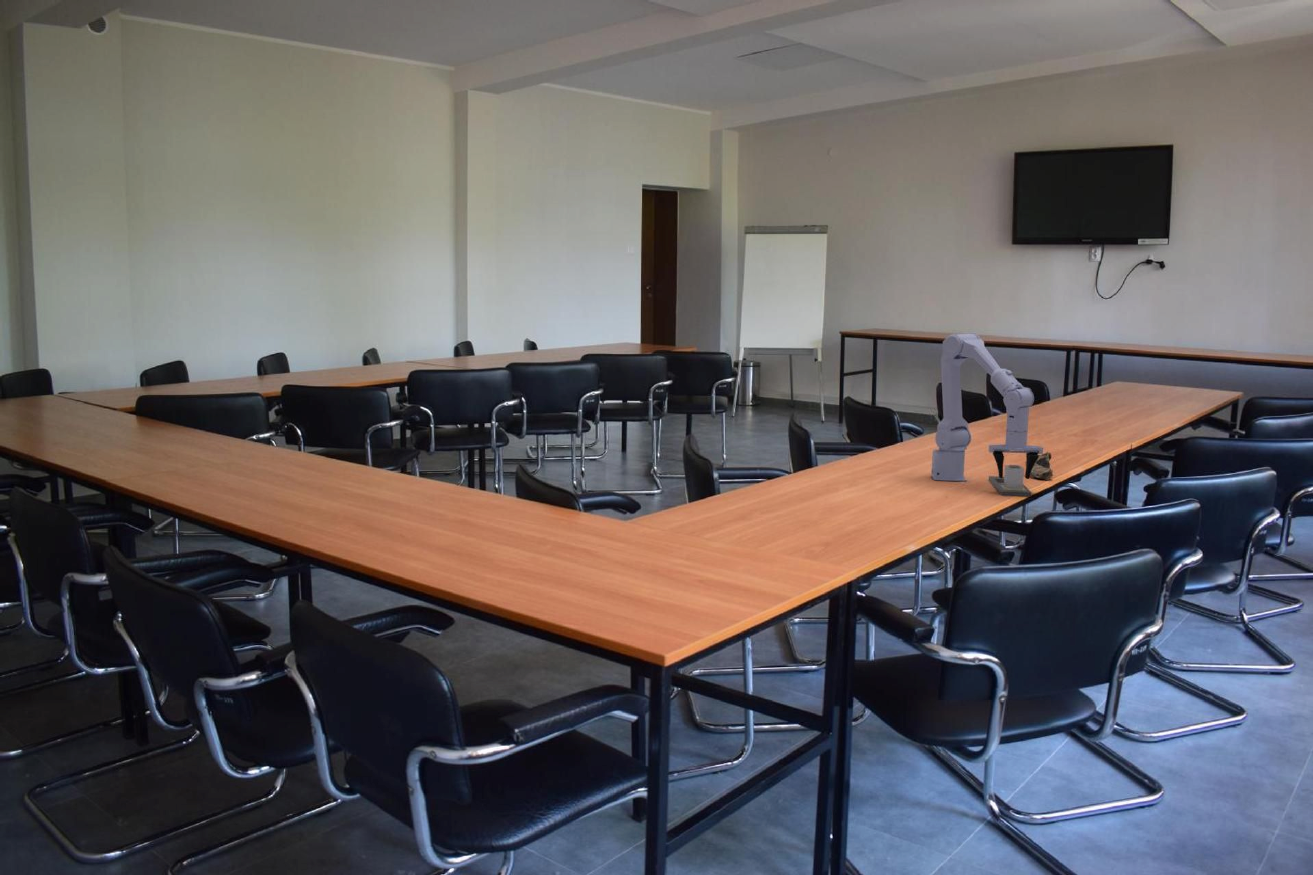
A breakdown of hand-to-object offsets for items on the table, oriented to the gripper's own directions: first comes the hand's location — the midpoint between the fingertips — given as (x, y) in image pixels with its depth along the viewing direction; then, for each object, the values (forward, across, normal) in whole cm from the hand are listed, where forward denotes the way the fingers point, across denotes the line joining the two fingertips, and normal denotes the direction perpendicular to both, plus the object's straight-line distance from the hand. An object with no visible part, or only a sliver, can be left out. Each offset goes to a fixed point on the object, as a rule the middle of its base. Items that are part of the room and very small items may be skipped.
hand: (1013, 477), depth 296 cm
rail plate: (+4, 0, +6) cm, 7 cm away
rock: (+4, +12, +24) cm, 27 cm away
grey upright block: (+3, 0, 0) cm, 3 cm away
